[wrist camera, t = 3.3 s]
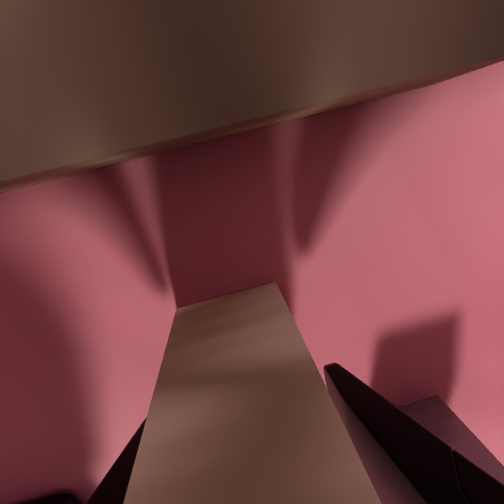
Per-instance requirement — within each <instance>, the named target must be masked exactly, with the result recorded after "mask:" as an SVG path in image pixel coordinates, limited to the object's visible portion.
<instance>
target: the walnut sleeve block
mask: <svg viewBox="0 0 504 504" xmlns="http://www.w3.org/2000/svg"><path fill="white" fill-rule="evenodd" d="M503 60H504V0H0V192H4V191H8V190H12V189H16V188H20V187H24V186H28V185H32V184H36V183H40V182H44V181H48V180H52V179H56V178H60V177H64V176H68V175H72V174H76V173H80V172H84V171H88V170H92V169H96V168H100V167H104V166H108V165H112V164H116V163H120V162H124V161H128V160H132V159H136V158H140V157H144V156H148V155H152V154H156V153H160V152H164V151H168V150H173V149H177V148H181V147H185V146H189V145H193V144H197V143H201V142H205V141H209V140H213V139H217V138H221V137H225V136H229V135H233V134H237V133H241V132H245V131H249V130H253V129H257V128H261V127H265V126H269V125H273V124H277V123H281V122H285V121H289V120H293V119H297V118H301V117H305V116H309V115H313V114H317V113H321V112H325V111H329V110H333V109H337V108H341V107H345V106H349V105H353V104H357V103H361V102H365V101H369V100H373V99H377V98H381V97H385V96H389V95H393V94H397V93H401V92H405V91H409V90H413V89H417V88H421V87H426V86H430V85H434V84H437V83H439V82H442V81H445V80H448V79H451V78H454V77H457V76H460V75H463V74H465V73H468V72H471V71H474V70H477V69H480V68H483V67H486V66H489V65H492V64H494V63H497V62H500V61H503Z"/></svg>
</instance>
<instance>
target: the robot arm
mask: <svg viewBox="0 0 504 504" xmlns="http://www.w3.org/2000/svg"><path fill="white" fill-rule="evenodd" d="M324 374H325V380H326V385H327V389H328V392H329V394H330V396H331V398H332V401H333V403H334V405H335V407H336V409H337V411H338V413H339V415H340V417H341V419H342V422H343V424H344V426H345V428H346V430H347V432H348V434H349V436H350V438H351V440H352V443H353V445H354V447H355V449H356V451H357V453H358V455H359V457H360V459H361V461H362V464H363V466H364V468H365V470H366V472H367V474H368V476H369V478H370V480H371V482H372V485H373V487H374V489H375V491H376V493H377V495H378V497H379V499H380V501H381V503H382V504H504V484H502V483H501V482H499V481H498V480H496V479H495V478H494V477H492V476H491V475H489V474H488V473H487V472H485V471H484V470H482V469H481V468H479V467H478V466H477V465H475V464H474V463H472V462H471V461H470V460H468V459H467V458H466V457H464V456H463V455H462V454H460V453H459V452H458V451H456V450H452V447H451V446H449V445H448V444H446V443H445V442H444V441H442V440H441V439H440V438H438V437H437V436H436V435H434V434H433V433H431V432H430V431H429V430H427V429H426V428H425V427H423V426H422V425H421V424H419V423H418V422H417V421H415V420H414V419H412V418H411V417H410V416H408V415H407V414H406V413H404V412H403V411H402V410H400V409H399V408H397V407H396V406H395V405H393V404H392V403H391V402H389V401H388V400H387V399H385V398H384V397H382V396H381V395H380V394H378V393H377V392H376V391H374V390H373V389H372V388H370V387H369V386H368V385H366V384H365V383H363V382H362V381H361V380H359V379H358V378H357V377H355V376H354V375H353V374H351V373H350V372H348V371H347V370H346V369H344V368H343V367H342V366H340V365H339V364H337V363H331V364H328V365H325V366H324ZM146 419H147V417H146ZM146 419H145V420H144V421H143V423H142V424H141V426H140V427H139V428H138V430H137V431H136V433H135V434H134V436H133V437H132V438H131V440H130V441H129V443H128V444H127V446H126V447H125V448H124V450H123V451H122V453H121V454H120V456H119V457H118V458H117V460H116V461H115V463H114V464H113V466H112V467H111V469H110V470H109V471H108V473H107V474H106V476H105V477H104V479H103V480H102V481H101V483H100V484H99V486H98V487H97V489H96V490H95V491H94V493H93V494H92V496H91V497H90V499H89V500H88V501H87V503H86V504H123V503H124V499H125V496H126V492H127V488H128V485H129V481H130V477H131V474H132V470H133V466H134V463H135V459H136V455H137V452H138V448H139V444H140V441H141V437H142V433H143V430H144V426H145V422H146ZM27 504H80V503H79V501H78V500H77V499H76V498H75V497H74V496H73V495H71V494H67V493H62V494H58V495H54V496H51V497H47V498H44V499H41V500H37V501H34V502H30V503H27Z"/></svg>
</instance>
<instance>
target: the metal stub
mask: <svg viewBox="0 0 504 504" xmlns="http://www.w3.org/2000/svg"><path fill="white" fill-rule="evenodd" d="M397 408H399V409H400V410H402V411H403V412H404V413H406V414H407V415H408V416H410V417H411V418H412V419H414V420H415V421H417V422H418V423H419V424H421V425H422V426H423V427H425V428H426V429H427V430H429V431H430V432H431V433H433V434H434V435H436V436H437V437H438V438H440V439H441V440H442V441H444V442H445V443H446V444H448V445H449V446H451V447H452V450H456V451H458V452H459V453H460V454H462V455H463V456H464V457H466V458H467V459H468V460H470V461H471V462H472V463H474V464H475V465H477V466H478V467H479V468H481V469H482V470H484V471H485V472H487V473H488V474H489V475H491V476H492V477H494V478H495V479H496V480H498V481H499V482H501V483H502V484H504V466H503V465H502V464H501V463H500V462H499V461H498V460H497V459H496V458H495V456H494V455H493V454H492V453H491V452H490V451H489V450H488V449H487V448H486V447H485V446H484V445H483V444H482V442H481V441H480V440H479V439H478V438H477V437H476V436H475V435H474V434H473V433H472V432H471V431H470V430H469V428H468V427H467V426H466V425H465V424H464V423H463V422H462V421H461V420H460V419H459V418H458V417H457V416H456V414H455V413H454V412H453V411H452V410H451V409H450V408H449V407H448V406H447V405H446V404H445V403H444V402H443V401H442V399H441V398H440V397H439V396H438V395H437V396H434V397H430V398H427V399H424V400H420V401H417V402H414V403H410V404H407V405H404V406H400V407H397Z"/></svg>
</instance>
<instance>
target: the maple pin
mask: <svg viewBox="0 0 504 504" xmlns="http://www.w3.org/2000/svg"><path fill="white" fill-rule="evenodd" d="M123 504H382V503H381V501H380V499H379V497H378V495H377V493H376V491H375V489H374V487H373V485H372V482H371V480H370V478H369V476H368V474H367V472H366V470H365V468H364V466H363V464H362V461H361V459H360V457H359V455H358V453H357V451H356V449H355V447H354V445H353V443H352V440H351V438H350V436H349V434H348V432H347V430H346V428H345V426H344V424H343V422H342V419H341V417H340V415H339V413H338V411H337V409H336V407H335V405H334V403H333V401H332V398H331V396H330V394H329V392H328V390H327V388H326V386H325V384H324V382H323V380H322V378H321V375H320V373H319V371H318V369H317V367H316V365H315V363H314V361H313V359H312V357H311V354H310V352H309V350H308V348H307V346H306V344H305V342H304V340H303V338H302V336H301V333H300V331H299V329H298V327H297V325H296V323H295V321H294V319H293V317H292V315H291V312H290V310H289V308H288V306H287V304H286V302H285V300H284V298H283V296H282V294H281V291H280V289H279V287H278V285H277V283H276V282H272V283H269V284H265V285H261V286H257V287H254V288H250V289H246V290H243V291H239V292H235V293H232V294H228V295H224V296H221V297H217V298H213V299H210V300H206V301H202V302H199V303H195V304H191V305H188V306H184V307H180V308H177V309H176V313H175V316H174V320H173V324H172V327H171V331H170V335H169V338H168V342H167V345H166V349H165V353H164V356H163V360H162V364H161V367H160V371H159V375H158V378H157V382H156V386H155V389H154V393H153V397H152V400H151V404H150V408H149V411H148V415H147V419H146V422H145V426H144V430H143V433H142V437H141V441H140V444H139V448H138V452H137V455H136V459H135V463H134V466H133V470H132V474H131V477H130V481H129V485H128V488H127V492H126V496H125V499H124V503H123Z"/></svg>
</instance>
